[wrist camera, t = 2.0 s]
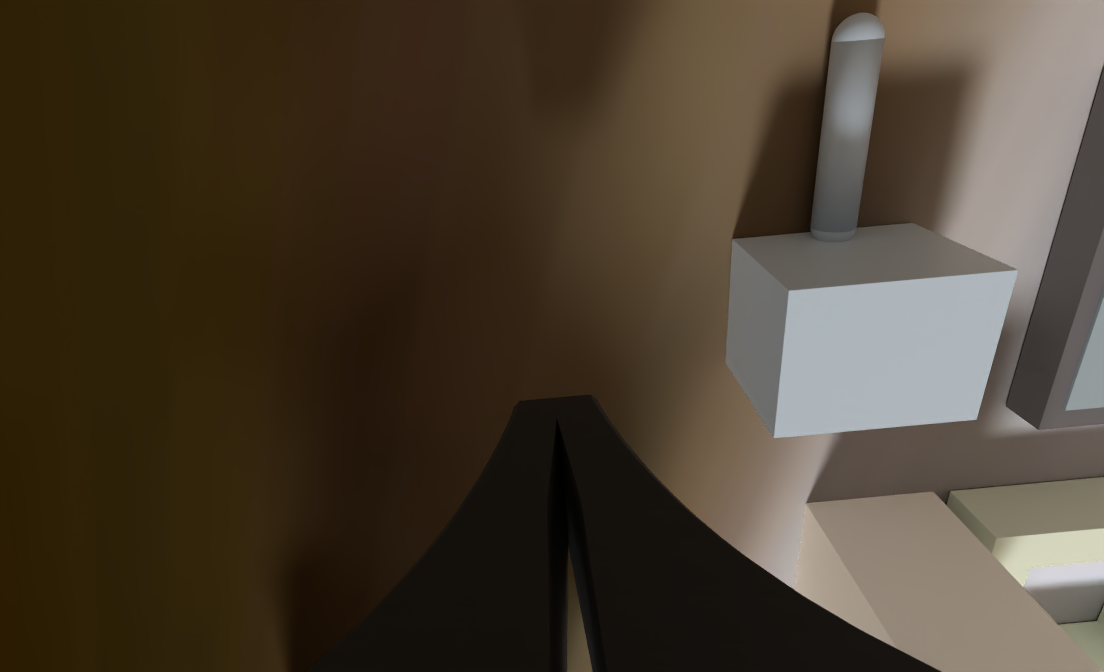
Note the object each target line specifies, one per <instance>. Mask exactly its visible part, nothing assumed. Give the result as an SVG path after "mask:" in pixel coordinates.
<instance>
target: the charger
mask: <svg viewBox="0 0 1104 672" xmlns="http://www.w3.org/2000/svg"><path fill="white" fill-rule="evenodd" d="M795 591H797V592H798V593H800V594H801V595H803V596H805V597H806V598H808V599H809V600H811V601H813V602H815V603H816V604H818V605H820V606H821V607H823V608H825V609H826V610H828V611H830V612H831V613H833V614H835V615H836V616H838V617H840V618H841V619H843V620H845V621H846V622H848V623H850V624H852V625H853V626H855V627H857V628H859V629H860V630H862V631H864V632H866V633H868V634H870V635H872V636H873V637H875V638H877V639H879V640H881V641H883V642H885V643H887V644H889V645H891V646H893V647H895V648H897V649H899V650H901V651H903V652H905V653H906V654H908V655H910V656H912V657H914V658H916V659H918V660H920V661H922V662H924V663H926V664H928V665H930V666H932V667H934V668H936V669H938V670H939V671H941V672H1102V671H1101V669H1100V668H1099V667H1098V666H1097V665H1096V664H1095V663H1094V662H1093V661H1092V660H1091V659H1090V658H1089V657H1088V656H1087V655H1086V654H1085V652H1084V651H1083V650H1082V649H1081V648H1080V647H1079V646H1078V645H1077V644H1076V643H1075V642H1074V641H1073V640H1072V639H1071V638H1070V636H1069V635H1068V634H1067V633H1066V632H1065V631H1064V630H1063V629H1062V628H1061V627H1060V626H1059V625H1058V624H1057V623H1056V622H1055V621H1054V619H1053V618H1052V617H1051V616H1050V615H1049V614H1048V613H1047V612H1046V611H1045V610H1044V609H1043V608H1042V607H1041V606H1040V605H1039V603H1038V602H1037V601H1036V600H1035V599H1034V598H1033V597H1032V596H1031V595H1030V594H1029V593H1028V592H1027V591H1026V590H1025V589H1024V588H1023V586H1022V585H1021V584H1020V583H1019V582H1018V581H1017V580H1016V579H1015V578H1014V577H1013V576H1012V575H1011V574H1010V573H1009V572H1008V570H1007V569H1006V568H1005V567H1004V566H1003V565H1002V564H1001V563H1000V562H999V561H998V560H997V559H996V558H995V557H994V556H993V555H992V553H991V552H990V551H989V550H988V549H987V548H986V547H985V546H984V545H983V544H982V543H981V542H980V541H979V540H978V539H977V538H976V536H975V535H974V534H973V533H972V532H971V531H970V530H969V529H968V528H967V527H966V526H965V525H964V524H963V523H962V522H961V520H960V519H959V518H958V517H957V516H956V515H955V514H954V513H953V512H952V511H951V510H950V509H949V508H948V507H947V506H946V505H945V503H944V502H943V501H942V500H941V499H940V498H939V497H938V496H937V495H936V494H935V493H934V492H922V493H912V494H901V495H890V496H879V497H868V498H858V499H847V500H836V501H825V502H814V503H806V505H805V513H804V521H803V528H802V536H801V544H800V551H799V559H798V567H797V574H796V582H795Z"/></svg>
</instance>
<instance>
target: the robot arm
mask: <svg viewBox="0 0 1104 672" xmlns="http://www.w3.org/2000/svg"><path fill="white" fill-rule="evenodd" d="M568 545H569V551H570V556H571V561H572V566H573V572H574V577H575V582H576V587H577V592H578V598H579V603H580V608H581V613H582V618H583V623H584V629H585V634H586V639H587V644H588V649H589V654H590V660H591V665H592V670H593V672H941V671H939V670H938V669H936V668H934V667H932V666H930V665H928V664H926V663H924V662H922V661H920V660H918V659H916V658H914V657H912V656H910V655H908V654H906V653H905V652H903V651H901V650H899V649H897V648H895V647H893V646H891V645H889V644H887V643H885V642H883V641H881V640H879V639H877V638H875V637H873V636H872V635H870V634H868V633H866V632H864V631H862V630H860V629H859V628H857V627H855V626H853V625H852V624H850V623H848V622H846V621H845V620H843V619H841V618H840V617H838V616H836V615H835V614H833V613H831V612H830V611H828V610H826V609H825V608H823V607H821V606H820V605H818V604H816V603H815V602H813V601H811V600H809V599H808V598H806V597H805V596H803V595H801V594H800V593H798V592H797V591H795V590H794V589H792V588H791V587H789V586H788V585H786V584H785V583H783V582H782V581H780V580H779V579H778V578H776V577H775V576H773V575H772V574H770V573H769V572H767V571H766V570H765V569H763V568H762V567H760V566H759V565H757V564H756V563H754V562H753V561H751V560H750V559H749V558H747V557H746V556H744V555H743V554H742V553H740V552H739V551H738V550H737V549H735V548H734V547H733V546H731V545H730V544H729V543H728V542H726V541H725V540H724V539H722V538H721V537H720V536H719V535H718V534H716V533H715V532H714V531H713V530H712V529H711V528H709V527H708V526H707V525H706V524H705V523H703V522H702V521H701V520H700V519H699V518H698V517H696V516H695V515H694V514H693V513H692V512H691V511H690V510H689V509H688V508H687V507H686V506H685V505H683V504H682V503H681V502H680V501H679V500H678V499H677V498H676V497H675V496H674V495H673V494H672V493H671V492H670V491H669V490H668V489H667V488H666V487H665V486H664V485H663V484H662V483H661V482H660V481H659V480H658V479H657V477H656V476H655V475H654V474H653V473H652V472H651V471H650V470H649V469H648V468H647V467H646V465H645V464H644V463H643V462H642V461H641V460H640V458H639V457H638V456H637V455H636V454H635V453H634V451H633V450H632V449H631V448H630V447H629V445H628V444H627V443H626V442H625V440H624V439H623V438H622V437H621V435H620V434H619V433H618V431H617V430H616V429H615V427H614V426H613V424H612V423H611V422H610V420H609V419H608V417H607V416H606V414H605V413H604V411H603V409H602V408H601V406H600V404H599V402H598V400H597V399H595V398H594V397H593V396H592V395H582V396H570V397H559V398H548V399H537V400H526V401H519V403H518V404H517V405H516V406H515V407H514V409H513V412H512V415H511V417H510V420H509V422H508V424H507V427H506V429H505V431H504V433H503V435H502V437H501V439H500V441H499V443H498V445H497V447H496V449H495V451H494V452H493V454H492V456H491V458H490V460H489V461H488V463H487V465H486V467H485V468H484V470H483V472H482V474H481V475H480V477H479V479H478V480H477V482H476V483H475V485H474V486H473V488H472V489H471V491H470V492H469V494H468V495H467V497H466V498H465V500H464V501H463V503H462V504H461V506H460V508H459V509H458V511H457V512H456V513H455V515H454V516H453V518H452V519H451V520H450V522H449V523H448V524H447V526H446V527H445V528H444V530H443V531H442V532H441V534H440V535H439V536H438V538H437V539H436V540H435V541H434V543H433V544H432V545H431V546H430V547H429V549H428V550H427V551H426V552H425V554H424V555H423V556H422V557H421V558H420V560H419V561H418V562H417V563H416V564H415V565H414V566H413V568H412V569H411V570H410V571H409V572H408V573H407V574H406V575H405V576H404V577H403V579H402V580H401V581H400V582H399V583H398V584H397V585H396V586H395V587H394V588H393V590H392V591H391V592H390V593H389V594H388V595H387V596H386V597H385V598H384V599H383V600H382V601H381V602H380V603H379V604H378V605H377V606H376V607H375V608H374V609H373V610H372V611H371V612H370V613H369V614H368V615H367V616H366V617H365V618H364V619H363V620H362V621H361V622H360V623H359V624H358V625H357V626H356V627H354V628H353V629H352V630H351V631H350V632H349V633H348V634H347V635H346V636H345V637H344V638H343V639H341V640H340V641H339V642H338V643H337V644H336V645H335V646H334V647H333V648H332V649H331V650H329V651H328V652H327V653H326V654H325V655H324V656H323V657H322V658H321V659H319V660H318V661H317V662H316V663H315V664H314V665H313V666H311V667H310V668H309V669H308V670H307V671H305V672H567V612H568Z"/></svg>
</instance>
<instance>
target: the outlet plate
mask: <svg viewBox="0 0 1104 672" xmlns="http://www.w3.org/2000/svg"><path fill="white" fill-rule="evenodd" d="M947 507H948V508H949V509H950V510H951V511H952V512H953V513H954V514H955V515H956V516H957V517H958V518H959V519H960V520H961V522H962V523H963V524H964V525H965V526H966V527H967V528H968V529H969V530H970V531H971V532H972V533H973V534H974V535H975V536H976V538H977V539H978V540H979V541H980V542H981V543H982V544H983V545H984V546H985V547H986V548H987V549H988V550H989V551H990V552H991V553H992V555H993V556H994V557H995V558H996V559H997V560H998V561H999V562H1000V563H1001V564H1002V565H1003V566H1004V567H1005V568H1006V569H1007V570H1008V572H1009V573H1010V574H1011V575H1012V576H1013V577H1014V578H1015V579H1016V580H1017V581H1018V582H1019V583H1020V584H1021V585H1022V586H1023V587H1024V584H1025V581H1026V579H1027V576H1028V573H1029V570H1030V568H1035V567H1046V566H1057V565H1068V564H1078V563H1089V562H1100V561H1104V477H1098V478H1087V479H1076V480H1066V481H1055V482H1044V483H1033V484H1022V485H1011V486H1000V487H989V488H979V489H968V490H957V491H950V494H949V498H948V502H947ZM1059 626H1060V627H1061V628H1062V629H1063V630H1064V631H1065V632H1066V633H1067V634H1068V635H1069V636H1070V638H1071V639H1072V640H1073V641H1074V642H1075V643H1076V644H1077V645H1078V646H1079V647H1080V648H1081V649H1082V650H1083V651H1084V652H1085V654H1086V655H1087V656H1088V657H1089V658H1090V659H1091V660H1092V661H1093V662H1094V663H1095V664H1096V665H1097V666H1098V667H1099V668H1100V669H1101V671H1102V672H1104V606H1103V609H1102V611H1101V613H1100V615H1099V617H1098V620H1097V621H1092V622H1081V623H1071V624H1060V625H1059Z"/></svg>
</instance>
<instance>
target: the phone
mask: <svg viewBox="0 0 1104 672" xmlns="http://www.w3.org/2000/svg"><path fill="white" fill-rule="evenodd" d="M1006 407H1008V408H1009V409H1010V410H1012V411H1013V412H1015V413H1016V414H1017V415H1019V416H1020V417H1022V418H1023V419H1024V420H1026V421H1027V422H1028V423H1030V424H1031V425H1033V426H1034V427H1035V428H1037V429H1038V430H1041V429H1052V428H1063V427H1073V426H1084V425H1095V424H1104V69H1103V72H1102V76H1101V79H1100V83H1099V86H1098V90H1097V93H1096V97H1095V100H1094V104H1093V107H1092V110H1091V114H1090V117H1089V121H1088V124H1087V128H1086V131H1085V135H1084V138H1083V142H1082V145H1081V148H1080V152H1079V155H1078V159H1077V162H1076V166H1075V169H1074V173H1073V176H1072V180H1071V183H1070V186H1069V190H1068V193H1067V197H1066V200H1065V204H1064V207H1063V211H1062V214H1061V218H1060V221H1059V225H1058V228H1057V231H1056V235H1055V238H1054V242H1053V245H1052V249H1051V252H1050V256H1049V259H1048V263H1047V266H1046V269H1045V273H1044V276H1043V280H1042V283H1041V287H1040V290H1039V294H1038V297H1037V301H1036V304H1035V307H1034V311H1033V314H1032V318H1031V321H1030V325H1029V328H1028V332H1027V335H1026V339H1025V342H1024V345H1023V349H1022V352H1021V356H1020V359H1019V363H1018V366H1017V370H1016V373H1015V377H1014V380H1013V383H1012V387H1011V390H1010V394H1009V397H1008V401H1007V404H1006Z"/></svg>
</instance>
